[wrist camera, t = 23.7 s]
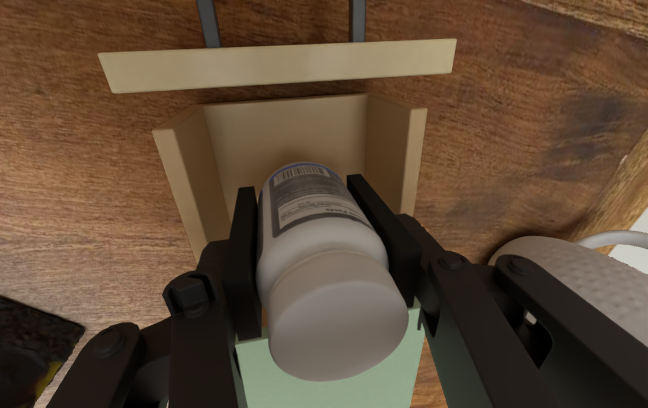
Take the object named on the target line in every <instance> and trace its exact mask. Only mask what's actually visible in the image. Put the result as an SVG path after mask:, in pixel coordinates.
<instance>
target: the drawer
mask: <svg viewBox="0 0 648 408" xmlns="http://www.w3.org/2000/svg"><path fill="white" fill-rule="evenodd" d="M196 3H197V8H198V13H199V17H200V22H201V27H202V31H203V36H204V41H205V45H206V48H205V49H180V50H155V51H130V52H105V53H98V57H99V60H100V62H101V65H102V68H103V70H104V73H105V75H106V78H107V81H108V83H109V86H110V88H111V91H112V93H115V94H119V93H135V92H152V91H168V90H184V89H201V88H217V87H234V86H250V85H267V84H283V83H300V82H316V81H333V80H349V79H366V78H382V77H399V76H415V75H431V74H448V73H451V71H452V65H453V59H454V53H455V47H456V41H457V40H456V39H431V40H406V41H381V42H365V18H366V0H349V43H330V44H305V45H280V46H255V47H230V48H223V44H222V39H221V34H220V28H219V23H218V18H217V13H216V7H215V2H214V0H196ZM426 116H427V108H425V107H421V106H418V105H415V104H412V103H408V102H405V101H402V100H399V99H395V98H392V97H389V96H386V95H383V94H379V93H376V92H370V93H355V94H341V95H326V96H312V97H297V98H283V99H268V100H254V101H239V102H225V103H210V104H196V105H190V106H189V107H187V108H186V109H184V110H182V111H181V112H179V113H178V114H176V115H175V116H173V117H172V118H170V119H169V120H167V121H166V122H164V123H163V124H161V125H160V126H158V127H156V128H155V129H153V130H152V134H153V137H154V140H155V143H156V146H157V149H158V152H159V155H160V158H161V161H162V164H163V167H164V170H165V172H166V175H167V178H168V181H169V184H170V187H171V190H172V193H173V196H174V199H175V202H176V205H177V208H178V210H179V213H180V216H181V219H182V222H183V225H184V228H185V231H186V234H187V237H188V240H189V243H190V246H191V248H192V251H193V254H194V257H195V260H196V263H197V265H198V262H199V259H200V255H201V252H202V250H203V249H204V248H205V247H206V245H207V244H208V243H209V242H211V241H218V240H225V239H229V236H230V230H231V225H232V220H233V215H234V209H235V204H236V199H237V194H238V188H240V187H249V186H254V188H255V193H256V199H257V205H258V198H259V194H260V191H261V189H262V187H263V185H264V183H265V182H266V180H267V179H268V178H269V177H270V176H271V175H272V174H273V173H274V172H275V171H277V170H278V169H280V168H281V167H283V166H285V165H287V164H290V163H294V162H301V161H311V162H316V163H319V164H322V165H324V166H326V167H328V168H330V169H331V170H332V171H334V172H335V173H336V174H337V175H338V176H339V177H340V179H341V180H342V182H343V183H344V185H345V186H346V188H347V175H353V174H361V175H362V176H363V177H364V179H365V180H366V181H367V182H368V183H369V185H370V186H371V187H372V188H373V189H374V191H375V192H376V193H377V194H378V195H379V197H380V198H381V199H382V200H383V201H384V202H385V204H386V205H387V206H388V207H389V208H390V210H391V211H392V212H393V213H394V214H395V215H396V214H403V213H406V214H407V215H409V216H411V217H413V212H414V205H415V197H416V190H417V183H418V175H419V168H420V161H421V153H422V146H423V138H424V131H425V124H426ZM263 327H268V322H267V311H266V309H265V308H264V306H263V305H262V328H263Z"/></svg>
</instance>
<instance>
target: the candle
mask: <svg viewBox="0 0 648 408" xmlns="http://www.w3.org/2000/svg"><path fill="white" fill-rule="evenodd" d="M84 332H85V330H84V329H82V328H80V327H78V326H76V325H74V324H72V323H69V322H65V321H62V320H60V319H58V318H55V317H52V316H49V315H44V314H42V313H40V312H38V311H35V310H32V309H30V308H26V307H23V306H20V305H17V304H14V303H11V302H7V301H5V300H3V299H0V408H33V407H34V405H35V402H36V401H37V400H38V398H39V397H40V396H41V394H42V393H43V391H44V390H45V388H46V387H47V386H48V385H49V384H50V383H51V382H52V381H53V378H54V376H55V375H56V373H57V372H58V371H59V370H60V369H61V367H62V366H63V364H64V363H65V362H66V361H67V360H68V358H69V356H70V355H71V354H72V351H73V349H74V348H75V345H76V344H77V343H78V342H79V339H80V338H81V337H82V336H83V335H84Z"/></svg>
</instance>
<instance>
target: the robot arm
mask: <svg viewBox="0 0 648 408" xmlns="http://www.w3.org/2000/svg"><path fill="white" fill-rule="evenodd" d="M347 189H348V191H349V192H350V194H351V195H352V197H353V198H354V200H355V201H356V203H357V205H358V206H359V208H360V209H361V210H362V212H363V213H364V215H365V216H366V218H367V220H368V221H369V222H370V224H371V225H372V227H373V228H374V230H375V231H376V233H377V234H378V235H379V237H380V238H381V241H382V242H383V244H384V246H385V249H386V252H387V255H388V260H389V274H390V275H391V276H392V278H393V280H394V282H395V284H396V286H397V288H398V290H399V292H400V294H401V295H402V297H403V299H404V301H405V303H406V306H407V308H412V307H413V305H414V299H415V296H416V298H417V299H418V301H419V303H420V304H421V306H420V312H419V317H418V323H417V330H419V331H421V325H422V324H423V327H424V331H425V334H426V337H427V340H428V344H429V347H430V350H431V353H432V357H433V360H434V363H435V366H436V369H437V373H438V376H439V379H440V382H441V386H442V389H443V392H444V395H445V398H446V402H447V405H448V408H648V347H647V346H646V345H644V344H643V343H642V342H640V341H639V340H638V339H636V338H635V337H634V336H632V335H631V334H630V333H628V332H627V331H626V330H624V329H623V328H622V327H620V326H619V325H618V324H616V323H615V322H614V321H612V320H611V319H610V318H608V317H607V316H606V315H604V314H603V313H602V312H600V311H599V310H598V309H596V308H595V307H594V306H593V305H591V304H590V303H589V302H587V301H586V300H585V299H583V298H582V297H581V296H579V295H578V294H577V293H575V292H574V291H573V290H571V289H570V288H569V287H567V286H566V285H565V284H563V283H562V282H561V281H559V280H558V279H557V278H555V277H554V276H553V275H551V274H550V273H549V272H547V271H546V270H545V269H543V268H542V267H541V266H539V265H538V264H537V263H535V262H533V261H532V260H530V259H528V258H525V257H522V256H519V255H514V254H504V255H501V256H498V258H497V259H496V262H495V265H494V266H493V265H479V264H471V263H470V262H469V261H468V259H467V258H465V257H464V256H462V255H460V254H458V253H455V252H452V251H445V250H444V249H443V248H442V247H441V246H440V245H439V244H438V242H437V241H436V240H435V239H434V238H433V237H432V236H431V235H430V234H429V233H428V232H426V230H425V229H424V228H423V227H421V224H420V223H419V222H418V221H417V220H416V219H415V218H413V217H411V216H409V215H407V214H406V213H403V214H396V215H395V214H394V213H393V212H392V211H391V210H390V208H389V207H388V206H387V205H386V204H385V202H384V201H383V200H382V199H381V198H380V197H379V195H378V194H377V193H376V192H375V191H374V189H373V188H372V187H371V186H370V185H369V183H368V182H367V181H366V180H365V179H364V177H363V176H362V175H361V174H353V175H347ZM257 206H258V205H257V199H256V193H255V188H254V186H249V187H240V188H238V194H237V199H236V204H235V209H234V215H233V220H232V225H231V230H230V236H229V239H225V240H218V241H211V242H209V243H208V244H207V245H206V247H205V248H204V249H203V250H202V252H201V255H200V259H199V262H198V265H197V269H196V271H190V272H187V273H184V274H182V275H179V276H178V277H176V278H175V279H173V280H172V281H171V282H170V283H169V284H168V285H167V286H166V287H165V289H164V291H163V294H162V296H163V298H164V300H165V302H166V305H167V307H168V309H169V311H170V314H171V316H170V317H168V318H166V319H164V320H162V321H160V322H158V323H156V324H153V325H151V326H148V327H146V328H144V329H141V330H140V329H139V327H138V325H136V324H134V323H131V322H125V323H119V324H116V325H112V326H110V327H108V328H106V329H104V330H103V331H101V332H99V333H98V334H97V335H95V336H94V337H93V338H92V339H90V340H89V341H88V343H87V344H86V345H85V346H84V347H83V349H82V350H81V352H80V353H79V355H78V356H77V358H76V360H75V361H74V363H73V365H72V366H71V368H70V369H69V371H68V373H67V374H66V376H65V377H64V379H63V381H62V382H61V384H60V385H59V387H58V389H57V390H56V392H55V394H54V395H53V397H52V398H51V400H50V402H49V403H48V405H47V406H46V408H166V406H167V403H168V399H169V403H168V408H248V405H247V400H246V395H245V390H244V385H243V380H242V374H241V369H240V364H239V359H238V354H237V351H236V347H235V339H236V334H237V337H238V340H239V341H244V340H249V339H254V338H259V337H262V303H261V301H260V299H259V296H258V293H257V289H256V283H255V268H256V244H257V241H256V239H257ZM528 312H529V313H530V314H531V315H532V316H533V317H534V318H535V319H536V322H535V324H533V323H531V322H530V321H529V320H528V319H527V318H526V316H527V314H528Z"/></svg>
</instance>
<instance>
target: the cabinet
mask: <svg viewBox="0 0 648 408" xmlns="http://www.w3.org/2000/svg"><path fill="white" fill-rule="evenodd" d="M420 306H421V304H420V303H419V301H418V299H417V298H416V296H415V299H414V305H413V307H412V308H407V309H408V314H409V323H408V327H407V330H406V333H405V335H404V337H403V339H402V341H401V342H400V344H399V345H398V347H397V348H396V349H395V350H394V351H393V352H392V353H391V354H390V355H389V356H388V357H387V358H386V359H385V360H383V361H382V362H381V363H379V364H377V365H376V366H374V367H373V368H371V369H369V370H367V371H365V372H363V373H361V374H358V375H355V376H353V377H350V378H347V379H342V380H336V381H327V382H313V381H306V380H301V379H298V378H295V377H293V376H291V375H288V374H287V373H285V372H284V371H283V370H282V369H280V368H279V367H278V366H277V365H276V363H275V362H274V360H273V359H272V356H271V354H270V351H269V346H268V327H263V328H262V337H259V338H254V339H249V340H244V341H239V340H238V337H237V334H236V339H235V347H236V351H237V354H238V359H239V364H240V369H241V374H242V380H243V385H244V390H245V395H246V400H247V405H248V408H410V403H411V398H412V393H413V389H414V384H415V379H416V374H417V370H418V365H419V360H420V356H421V351H422V346H423V341H424V337H425V331H424V327H423V324H422V325H421V331H419V330H417V323H418V317H419V312H420Z"/></svg>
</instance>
